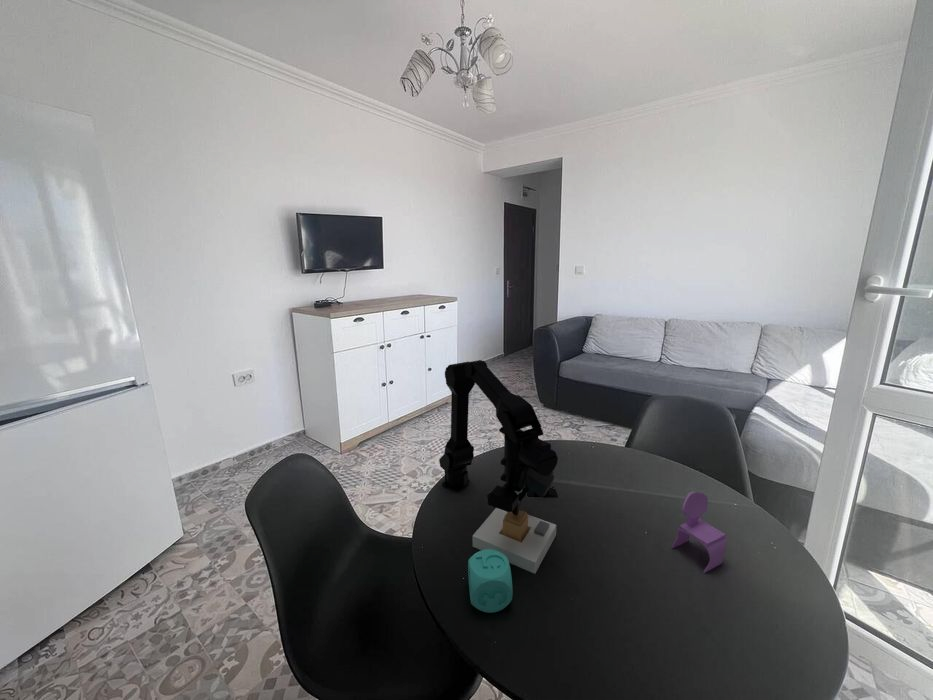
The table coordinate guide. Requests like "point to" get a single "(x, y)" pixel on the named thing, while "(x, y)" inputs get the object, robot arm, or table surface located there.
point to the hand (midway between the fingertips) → (515, 513)
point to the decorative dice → (489, 580)
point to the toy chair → (701, 529)
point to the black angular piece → (550, 494)
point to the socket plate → (517, 553)
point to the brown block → (516, 525)
